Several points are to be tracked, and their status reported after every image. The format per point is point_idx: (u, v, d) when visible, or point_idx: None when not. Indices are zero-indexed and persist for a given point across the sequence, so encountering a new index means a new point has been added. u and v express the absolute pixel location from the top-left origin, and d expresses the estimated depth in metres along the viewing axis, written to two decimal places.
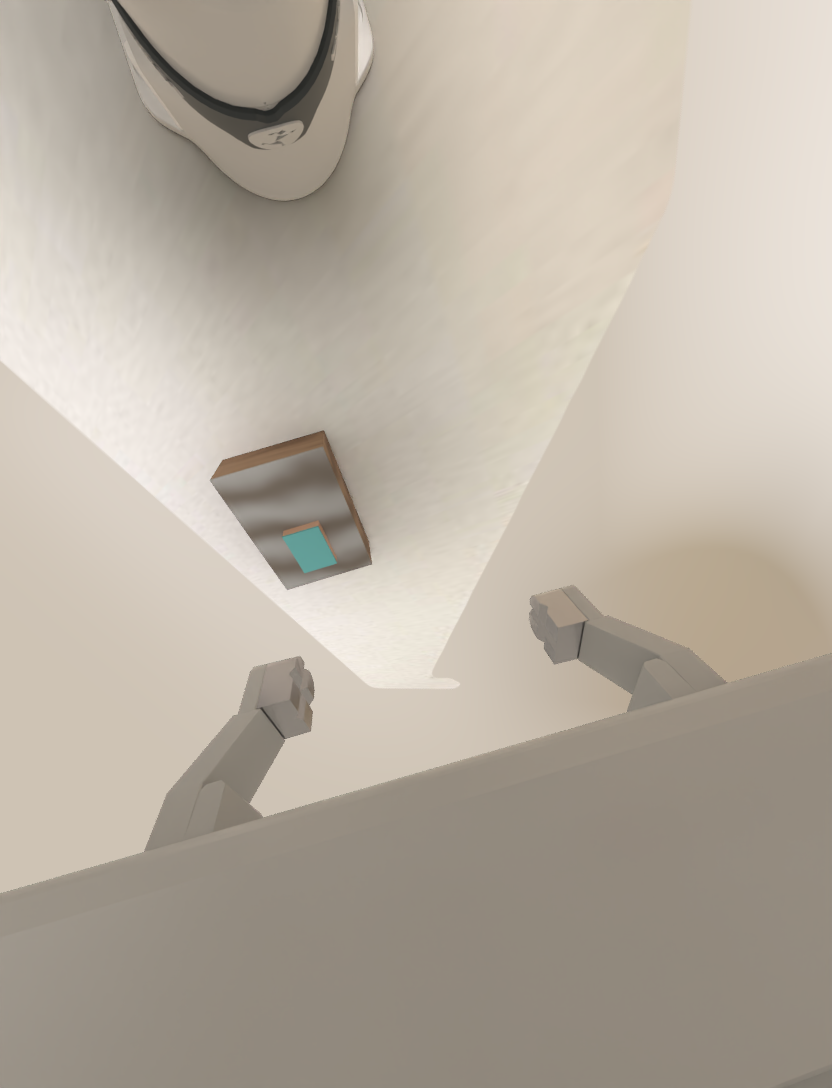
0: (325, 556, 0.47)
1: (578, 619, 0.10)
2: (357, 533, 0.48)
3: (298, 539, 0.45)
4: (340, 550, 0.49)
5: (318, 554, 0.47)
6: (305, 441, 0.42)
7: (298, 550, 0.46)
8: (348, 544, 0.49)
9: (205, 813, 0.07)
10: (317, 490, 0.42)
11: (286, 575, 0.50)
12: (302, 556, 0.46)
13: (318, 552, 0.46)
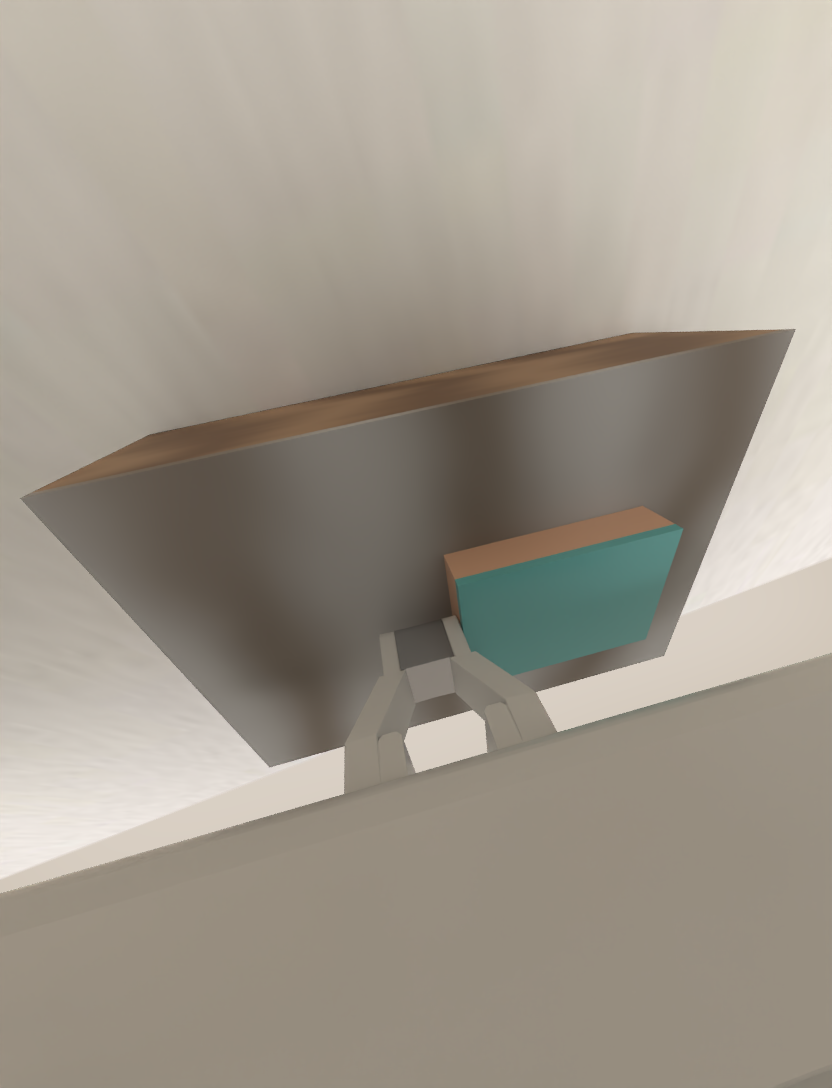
0: (619, 570, 0.10)
1: (445, 654, 0.10)
2: (569, 387, 0.09)
3: (495, 649, 0.11)
4: (619, 488, 0.11)
5: (592, 594, 0.11)
6: None
7: (542, 650, 0.12)
8: (606, 448, 0.10)
9: (392, 759, 0.07)
10: (290, 545, 0.09)
11: (616, 655, 0.16)
12: (574, 641, 0.12)
13: (583, 593, 0.10)
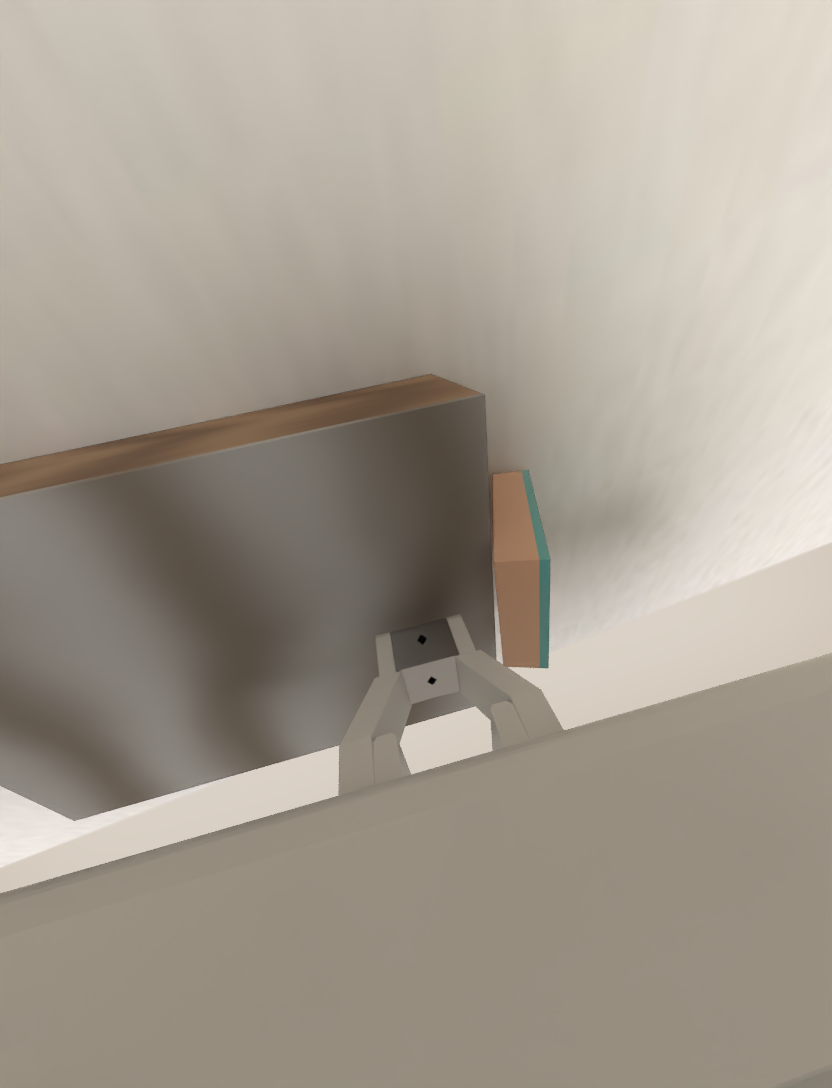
0: None
1: (450, 653, 0.10)
2: (232, 459, 0.08)
3: None
4: (353, 550, 0.10)
5: None
6: None
7: None
8: (313, 514, 0.09)
9: (387, 761, 0.07)
10: None
11: (440, 702, 0.15)
12: None
13: None
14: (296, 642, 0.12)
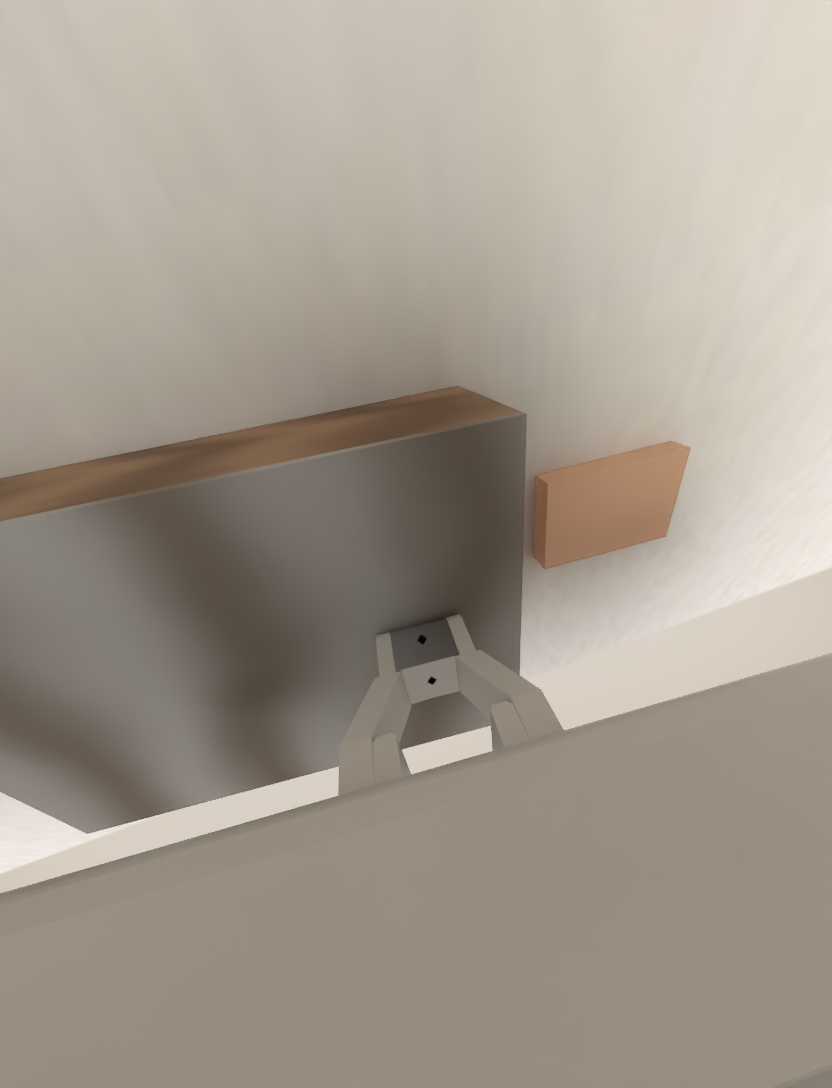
0: None
1: (450, 653, 0.10)
2: (266, 478, 0.08)
3: None
4: (382, 570, 0.10)
5: None
6: None
7: None
8: (344, 534, 0.09)
9: (387, 761, 0.07)
10: None
11: (460, 720, 0.15)
12: None
13: None
14: (319, 660, 0.11)
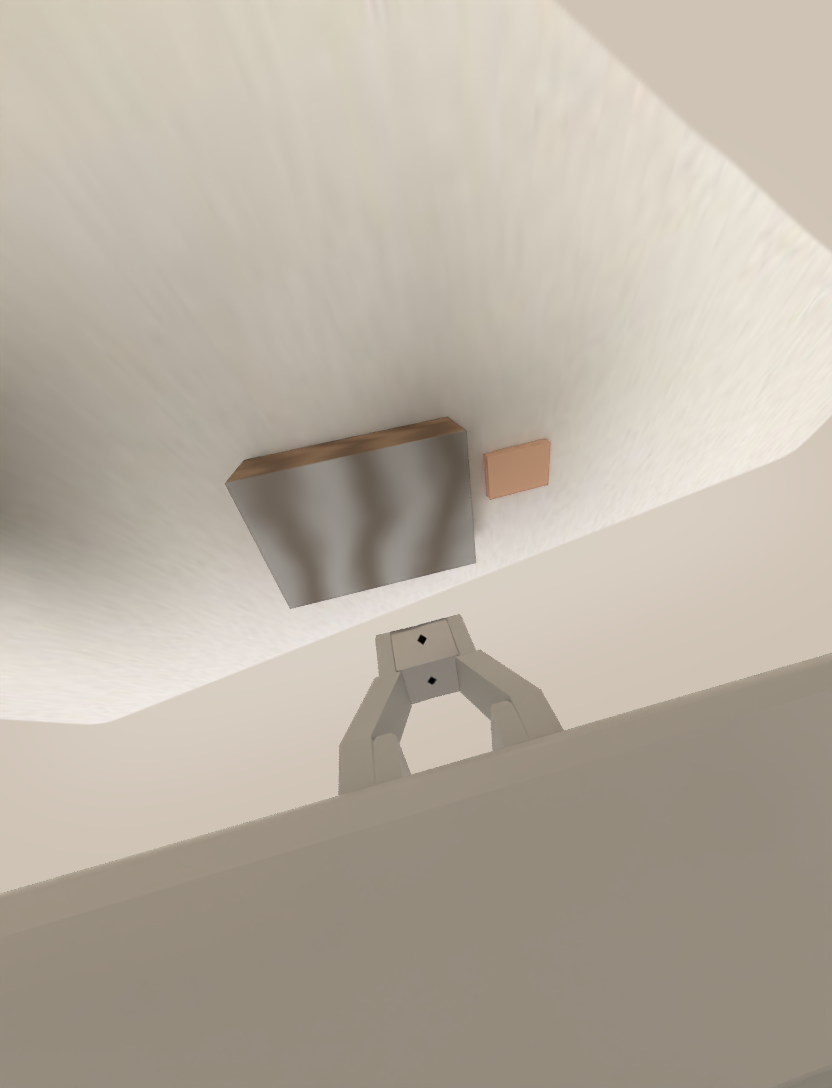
0: None
1: (450, 653, 0.10)
2: (391, 450, 0.27)
3: None
4: (421, 482, 0.29)
5: None
6: None
7: None
8: (411, 468, 0.28)
9: (386, 761, 0.07)
10: (302, 500, 0.28)
11: (449, 560, 0.34)
12: None
13: None
14: (396, 520, 0.30)
